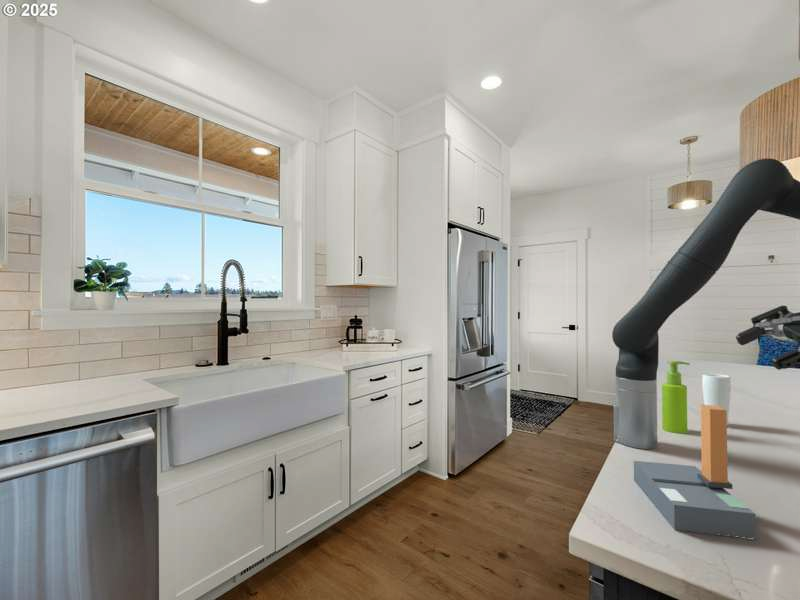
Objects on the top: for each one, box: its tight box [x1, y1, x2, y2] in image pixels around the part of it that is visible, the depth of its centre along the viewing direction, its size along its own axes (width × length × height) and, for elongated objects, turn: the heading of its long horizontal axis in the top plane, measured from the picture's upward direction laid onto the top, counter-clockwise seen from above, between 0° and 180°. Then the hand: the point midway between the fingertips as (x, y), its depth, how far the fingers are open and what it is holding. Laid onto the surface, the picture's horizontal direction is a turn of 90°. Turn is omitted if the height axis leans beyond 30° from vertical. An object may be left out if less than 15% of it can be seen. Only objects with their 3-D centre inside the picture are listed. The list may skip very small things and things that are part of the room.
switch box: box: [633, 460, 757, 540], centre depth 69 cm, size 11×18×4 cm, turn 166°
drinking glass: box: [701, 373, 732, 427], centre depth 116 cm, size 7×7×15 cm
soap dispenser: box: [661, 360, 690, 434], centre depth 110 cm, size 6×7×20 cm
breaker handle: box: [697, 404, 733, 490], centre depth 68 cm, size 4×4×14 cm
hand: (755, 352), depth 71 cm, fingers open, 8 cm apart
